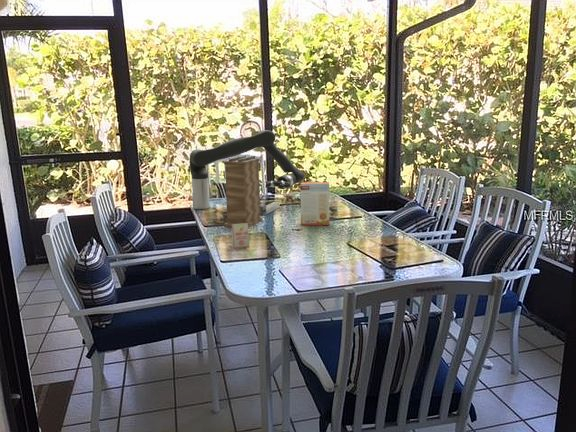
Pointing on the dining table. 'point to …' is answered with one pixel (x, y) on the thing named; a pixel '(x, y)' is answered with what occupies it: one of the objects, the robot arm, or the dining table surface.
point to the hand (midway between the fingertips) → (273, 186)
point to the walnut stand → (242, 191)
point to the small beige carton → (240, 235)
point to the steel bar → (268, 208)
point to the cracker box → (314, 203)
